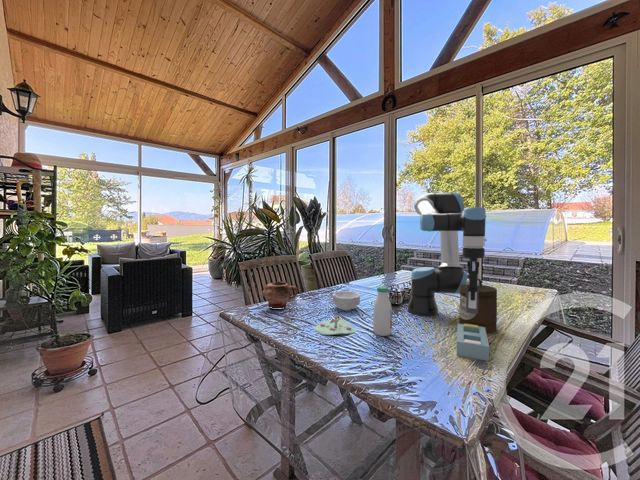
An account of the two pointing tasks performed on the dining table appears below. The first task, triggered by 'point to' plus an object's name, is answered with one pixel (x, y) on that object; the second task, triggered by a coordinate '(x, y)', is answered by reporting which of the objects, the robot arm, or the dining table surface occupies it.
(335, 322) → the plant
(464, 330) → the socket block
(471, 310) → the plug
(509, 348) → the dining table surface
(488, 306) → the wooden container
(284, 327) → the dining table surface
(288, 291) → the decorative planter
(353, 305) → the paper bowls
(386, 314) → the milk bottle
